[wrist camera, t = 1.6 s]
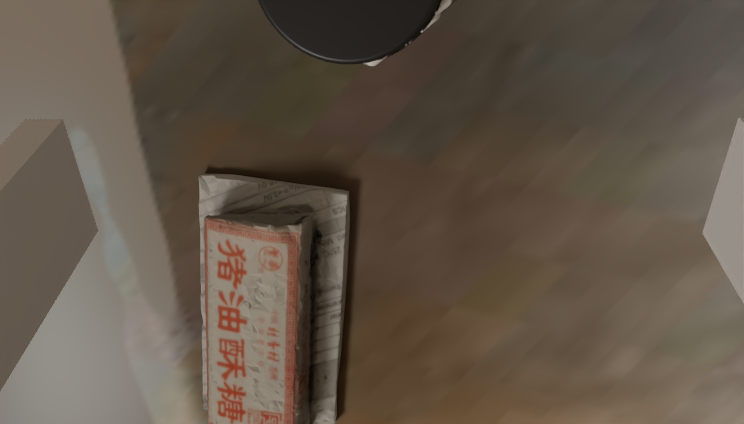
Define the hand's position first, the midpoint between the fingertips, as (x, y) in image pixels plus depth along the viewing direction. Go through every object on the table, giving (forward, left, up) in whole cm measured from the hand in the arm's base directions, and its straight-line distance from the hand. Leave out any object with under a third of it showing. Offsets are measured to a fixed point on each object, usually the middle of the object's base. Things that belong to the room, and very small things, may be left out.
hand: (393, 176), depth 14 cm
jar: (+6, 0, -28) cm, 28 cm away
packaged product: (-3, +21, -28) cm, 35 cm away
